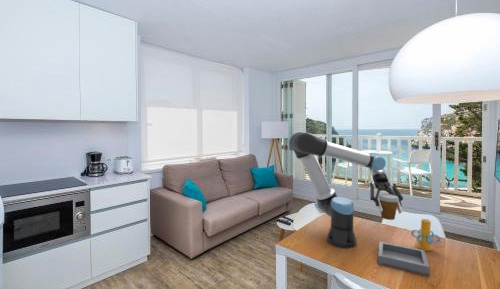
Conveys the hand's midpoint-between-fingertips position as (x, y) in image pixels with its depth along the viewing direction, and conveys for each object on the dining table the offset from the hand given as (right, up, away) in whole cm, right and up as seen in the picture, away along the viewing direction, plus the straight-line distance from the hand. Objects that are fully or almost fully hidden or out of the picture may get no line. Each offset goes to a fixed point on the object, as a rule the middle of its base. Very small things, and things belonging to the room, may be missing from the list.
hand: (391, 212), depth 127 cm
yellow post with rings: (+17, -19, -1) cm, 25 cm away
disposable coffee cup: (0, -4, +3) cm, 6 cm away
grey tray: (-3, -19, -13) cm, 24 cm away
